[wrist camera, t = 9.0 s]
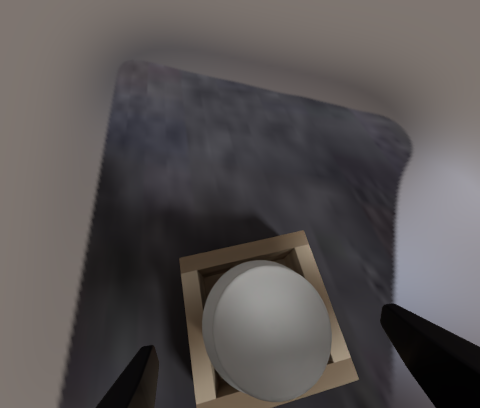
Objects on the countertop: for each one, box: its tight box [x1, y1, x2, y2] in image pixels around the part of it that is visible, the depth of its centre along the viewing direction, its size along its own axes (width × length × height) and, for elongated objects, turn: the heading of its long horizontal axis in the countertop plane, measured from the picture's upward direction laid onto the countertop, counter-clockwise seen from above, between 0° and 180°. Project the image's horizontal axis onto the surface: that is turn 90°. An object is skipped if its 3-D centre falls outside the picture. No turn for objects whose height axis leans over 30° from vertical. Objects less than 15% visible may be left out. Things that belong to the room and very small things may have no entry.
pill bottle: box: [202, 260, 332, 402], centre depth 12 cm, size 5×5×10 cm
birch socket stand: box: [179, 230, 359, 408], centre depth 15 cm, size 8×8×4 cm
